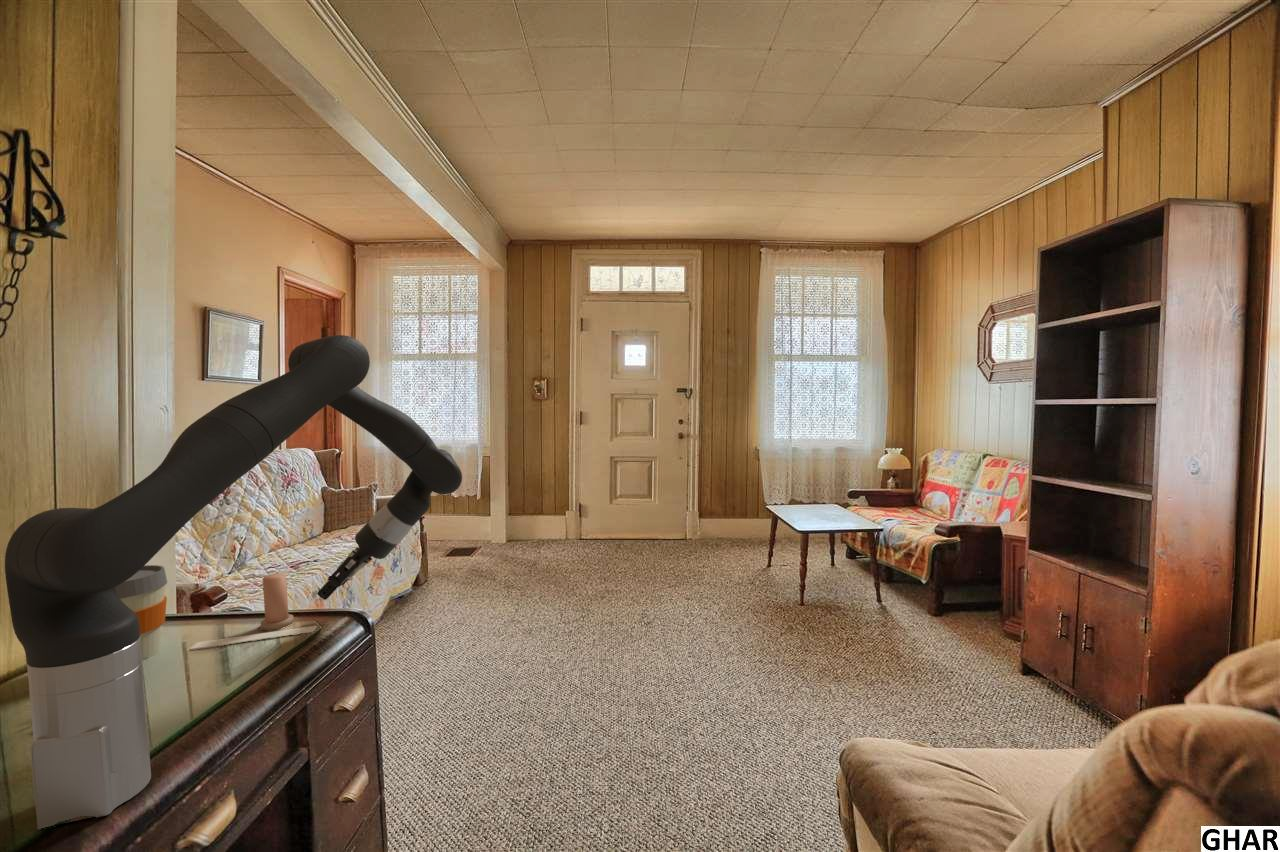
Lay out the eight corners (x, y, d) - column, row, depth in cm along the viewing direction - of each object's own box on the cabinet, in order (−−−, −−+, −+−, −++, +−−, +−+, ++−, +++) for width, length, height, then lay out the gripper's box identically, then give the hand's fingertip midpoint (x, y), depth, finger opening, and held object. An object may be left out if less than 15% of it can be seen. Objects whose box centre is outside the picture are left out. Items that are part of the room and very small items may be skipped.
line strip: (313, 632, 110) (312, 631, 110) (190, 650, 104) (190, 648, 104) (316, 627, 113) (316, 625, 113) (197, 644, 107) (196, 642, 107)
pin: (289, 628, 113) (286, 578, 113) (257, 632, 111) (253, 582, 111) (296, 618, 119) (293, 571, 118) (265, 622, 117) (262, 574, 116)
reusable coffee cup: (159, 663, 99) (153, 578, 99) (64, 680, 94) (56, 591, 93) (181, 636, 111) (175, 561, 110) (96, 651, 105) (90, 571, 105)
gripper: (382, 511, 124) (329, 567, 123) (358, 526, 110) (299, 589, 109) (408, 534, 125) (357, 589, 124) (389, 551, 110) (330, 614, 110)
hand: (330, 589), depth 116 cm, fingers open, 8 cm apart
